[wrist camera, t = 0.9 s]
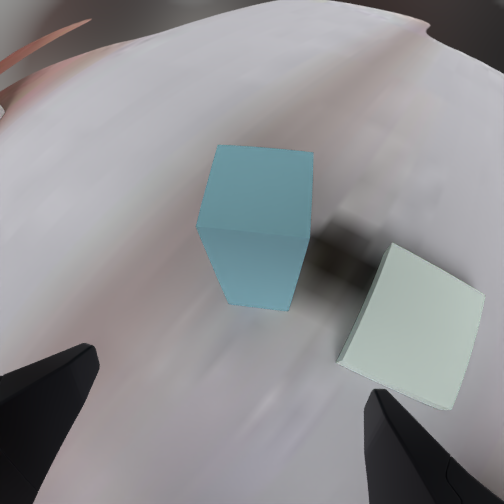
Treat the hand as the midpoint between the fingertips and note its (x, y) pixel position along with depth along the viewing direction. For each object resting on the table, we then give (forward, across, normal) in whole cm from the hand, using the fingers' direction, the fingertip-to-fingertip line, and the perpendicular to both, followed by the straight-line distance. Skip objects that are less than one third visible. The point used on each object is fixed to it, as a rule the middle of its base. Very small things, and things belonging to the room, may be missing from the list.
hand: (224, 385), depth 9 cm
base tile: (+13, -13, +6) cm, 19 cm away
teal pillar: (+15, 0, +3) cm, 15 cm away
